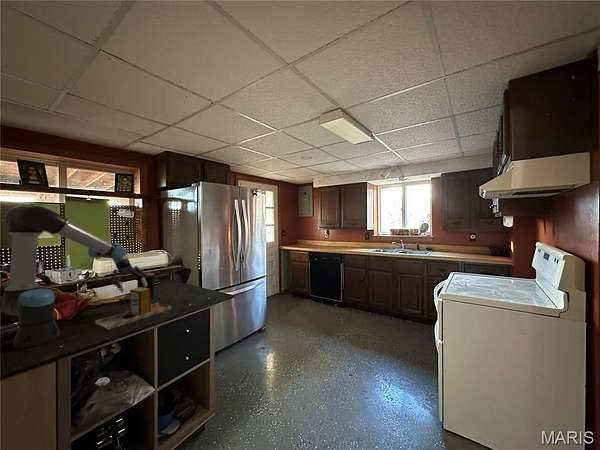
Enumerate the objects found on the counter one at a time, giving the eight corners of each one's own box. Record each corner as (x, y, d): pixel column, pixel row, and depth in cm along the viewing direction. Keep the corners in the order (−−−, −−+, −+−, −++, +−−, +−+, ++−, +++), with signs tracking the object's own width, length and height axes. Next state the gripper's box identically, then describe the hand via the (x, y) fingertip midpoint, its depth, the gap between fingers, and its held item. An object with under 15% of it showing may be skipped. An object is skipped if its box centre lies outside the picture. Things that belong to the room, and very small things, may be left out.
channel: (107, 329, 128) (107, 326, 128) (95, 324, 135) (95, 320, 135) (170, 309, 159) (170, 306, 159) (158, 305, 166) (158, 302, 166)
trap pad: (155, 313, 152) (155, 312, 152) (145, 310, 157) (145, 309, 157) (169, 308, 160) (169, 308, 160) (159, 305, 165) (159, 305, 165)
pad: (107, 328, 130) (107, 328, 130) (97, 324, 135) (97, 323, 135) (130, 321, 139) (130, 320, 139) (120, 317, 144) (120, 317, 144)
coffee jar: (149, 295, 189) (149, 272, 189) (157, 297, 184) (157, 273, 183) (134, 299, 180) (134, 274, 180) (142, 301, 174) (141, 276, 174)
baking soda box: (130, 315, 148) (130, 289, 148) (141, 311, 154) (140, 286, 154) (139, 318, 144) (139, 291, 144) (150, 314, 150) (150, 288, 150)
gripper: (140, 263, 173) (152, 287, 166) (97, 269, 151) (110, 297, 144) (144, 256, 170) (157, 280, 164) (101, 262, 149) (114, 290, 142)
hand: (135, 288), depth 154 cm, fingers open, 13 cm apart
